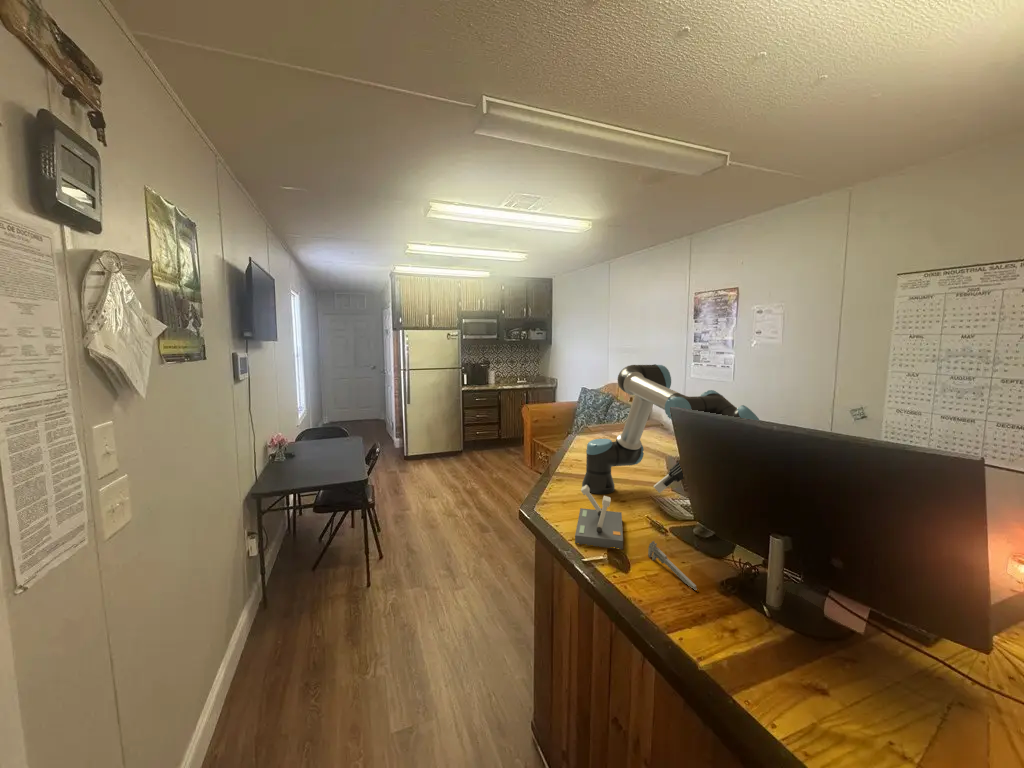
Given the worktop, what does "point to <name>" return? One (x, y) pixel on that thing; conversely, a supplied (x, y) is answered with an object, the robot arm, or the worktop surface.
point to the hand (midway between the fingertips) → (656, 489)
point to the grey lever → (603, 512)
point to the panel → (610, 529)
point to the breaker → (591, 498)
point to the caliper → (668, 563)
